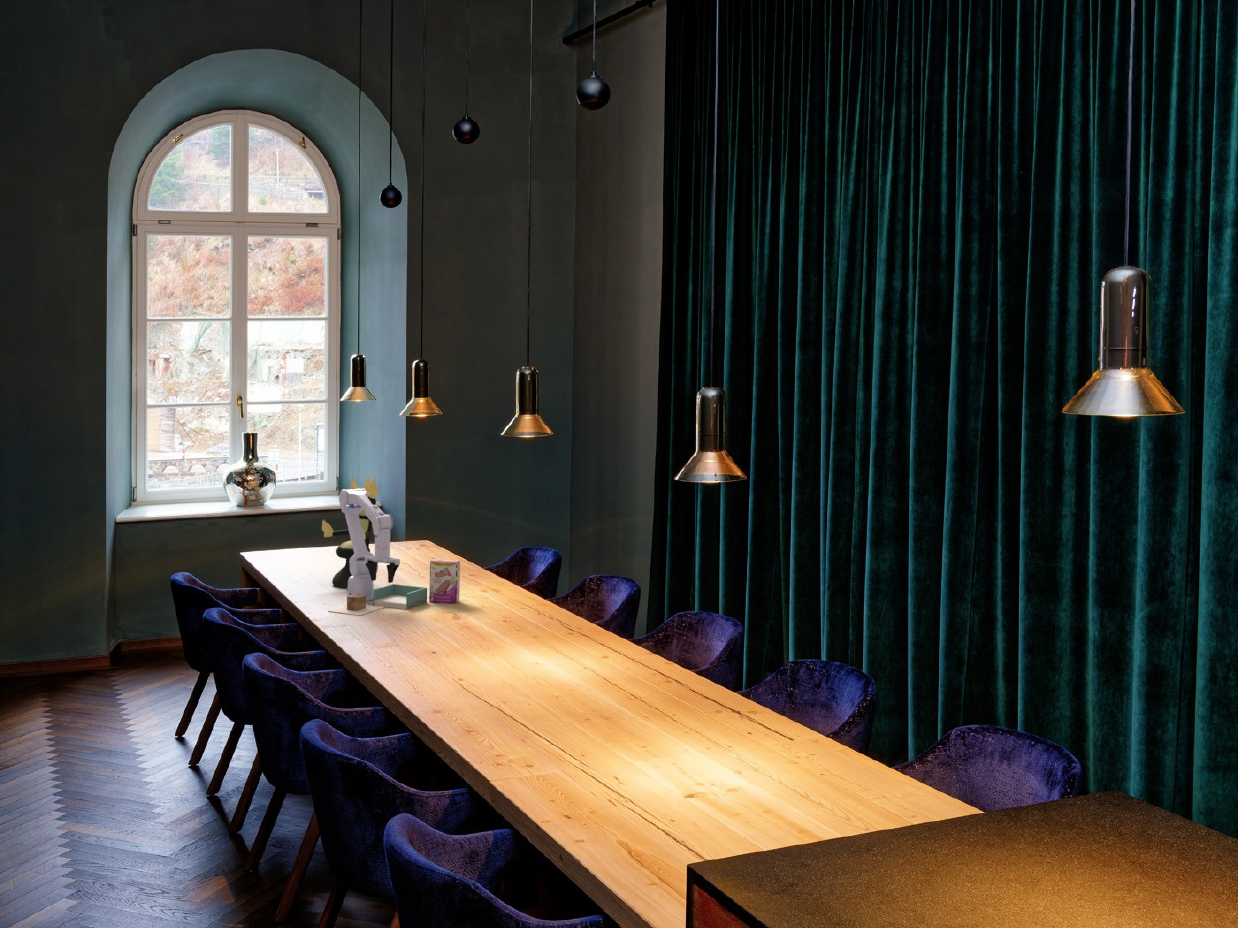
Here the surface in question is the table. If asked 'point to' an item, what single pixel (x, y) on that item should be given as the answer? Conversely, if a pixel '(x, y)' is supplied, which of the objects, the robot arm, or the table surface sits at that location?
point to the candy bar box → (444, 581)
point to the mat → (360, 612)
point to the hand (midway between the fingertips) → (382, 581)
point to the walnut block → (356, 602)
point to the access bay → (400, 596)
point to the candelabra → (346, 548)
